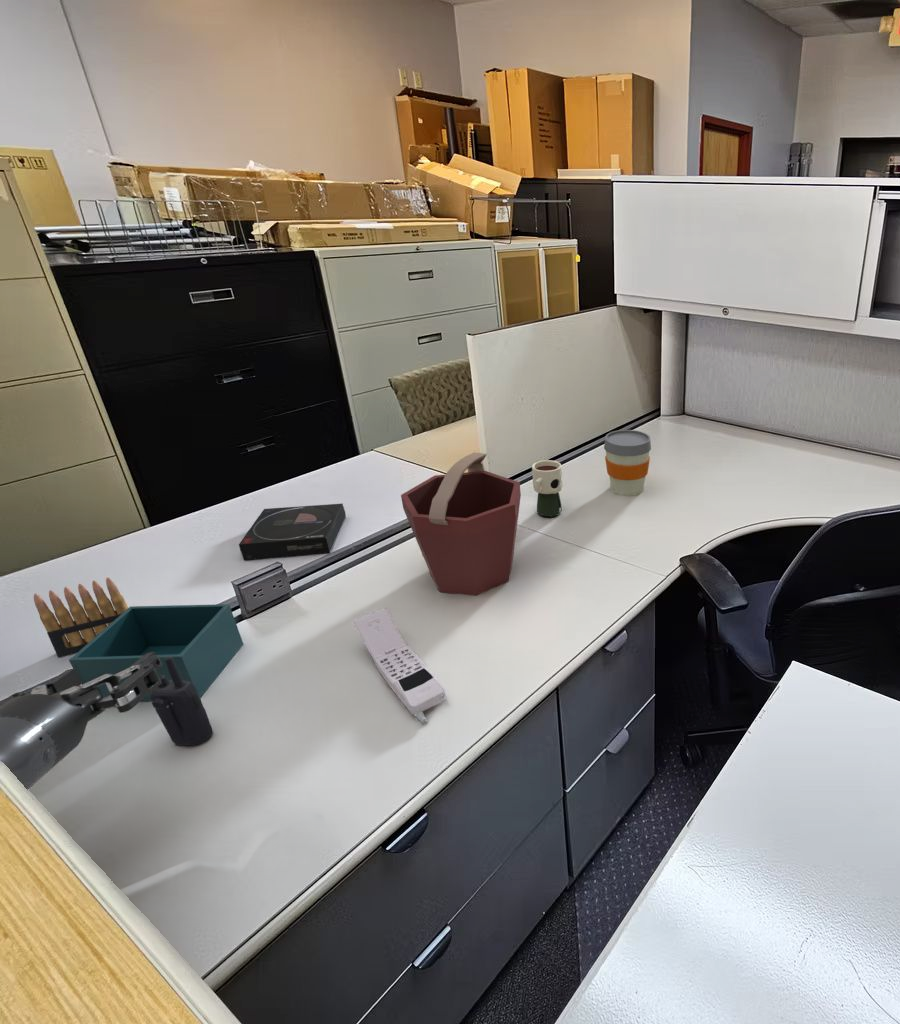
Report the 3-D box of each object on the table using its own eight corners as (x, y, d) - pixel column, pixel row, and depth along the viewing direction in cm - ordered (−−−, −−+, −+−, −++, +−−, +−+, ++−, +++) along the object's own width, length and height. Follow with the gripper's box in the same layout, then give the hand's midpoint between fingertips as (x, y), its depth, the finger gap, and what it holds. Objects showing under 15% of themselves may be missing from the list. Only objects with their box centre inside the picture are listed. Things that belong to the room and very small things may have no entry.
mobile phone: (385, 605, 109) (450, 679, 94) (392, 632, 112) (455, 708, 96) (350, 620, 105) (411, 699, 90) (357, 647, 108) (417, 728, 93)
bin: (91, 703, 94) (68, 660, 90) (148, 647, 106) (130, 606, 102) (199, 699, 96) (181, 656, 92) (243, 644, 107) (229, 603, 103)
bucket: (466, 536, 143) (452, 434, 132) (551, 554, 138) (544, 451, 126) (391, 592, 123) (368, 478, 111) (488, 617, 117) (474, 500, 105)
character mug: (552, 525, 150) (549, 476, 144) (526, 519, 152) (522, 471, 146) (571, 506, 159) (570, 459, 153) (547, 501, 161) (544, 455, 155)
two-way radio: (220, 730, 91) (187, 650, 84) (198, 754, 87) (162, 673, 80) (183, 728, 91) (146, 648, 84) (159, 752, 87) (119, 671, 80)
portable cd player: (346, 517, 149) (342, 502, 147) (330, 553, 134) (326, 537, 132) (269, 522, 145) (265, 507, 143) (244, 560, 130) (238, 544, 128)
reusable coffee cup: (596, 492, 167) (595, 440, 160) (618, 476, 177) (618, 426, 170) (637, 502, 163) (638, 449, 156) (657, 484, 173) (659, 434, 166)
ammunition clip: (140, 629, 109) (115, 573, 104) (140, 635, 108) (114, 578, 103) (59, 651, 104) (27, 592, 98) (57, 657, 102) (25, 598, 97)
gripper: (73, 701, 59) (169, 626, 74) (-102, 739, 57) (34, 653, 72) (106, 765, 61) (192, 679, 77) (-61, 804, 59) (63, 707, 74)
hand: (115, 667), depth 74 cm, fingers open, 8 cm apart
